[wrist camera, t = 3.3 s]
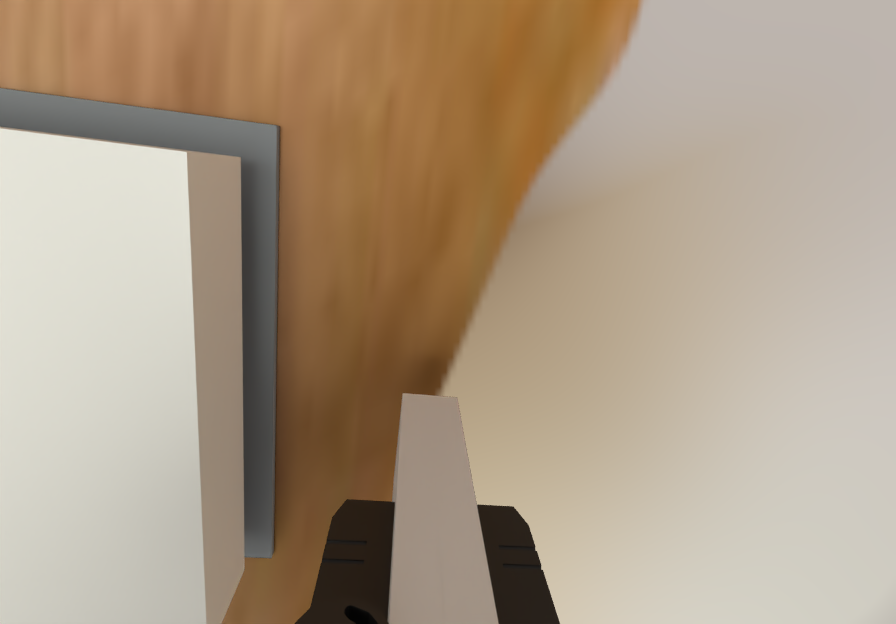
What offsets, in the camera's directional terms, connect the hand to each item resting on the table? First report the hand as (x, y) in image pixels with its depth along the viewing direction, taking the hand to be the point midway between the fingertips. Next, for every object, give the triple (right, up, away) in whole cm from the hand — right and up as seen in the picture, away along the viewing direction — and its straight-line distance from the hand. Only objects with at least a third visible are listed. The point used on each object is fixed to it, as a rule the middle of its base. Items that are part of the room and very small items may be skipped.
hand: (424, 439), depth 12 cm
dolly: (-14, +2, +2) cm, 15 cm away
